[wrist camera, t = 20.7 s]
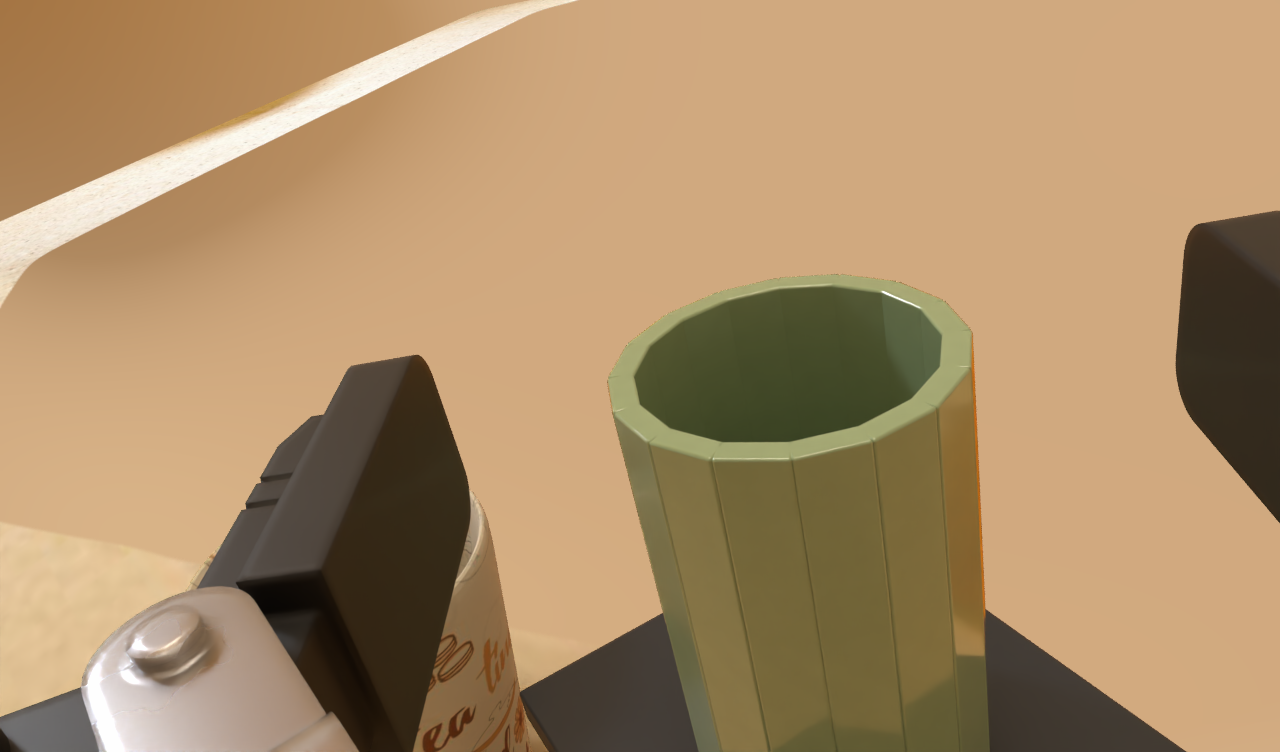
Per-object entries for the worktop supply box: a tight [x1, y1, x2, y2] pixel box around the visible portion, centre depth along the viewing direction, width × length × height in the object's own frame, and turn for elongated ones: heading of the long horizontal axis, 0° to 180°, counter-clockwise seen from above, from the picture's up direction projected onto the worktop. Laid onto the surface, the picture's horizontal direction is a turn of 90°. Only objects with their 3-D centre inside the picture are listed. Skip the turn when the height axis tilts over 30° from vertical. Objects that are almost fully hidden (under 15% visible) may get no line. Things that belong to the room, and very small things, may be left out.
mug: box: [186, 489, 531, 752], centre depth 31 cm, size 8×13×10 cm, turn 30°
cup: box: [607, 274, 991, 752], centre depth 20 cm, size 6×6×10 cm
